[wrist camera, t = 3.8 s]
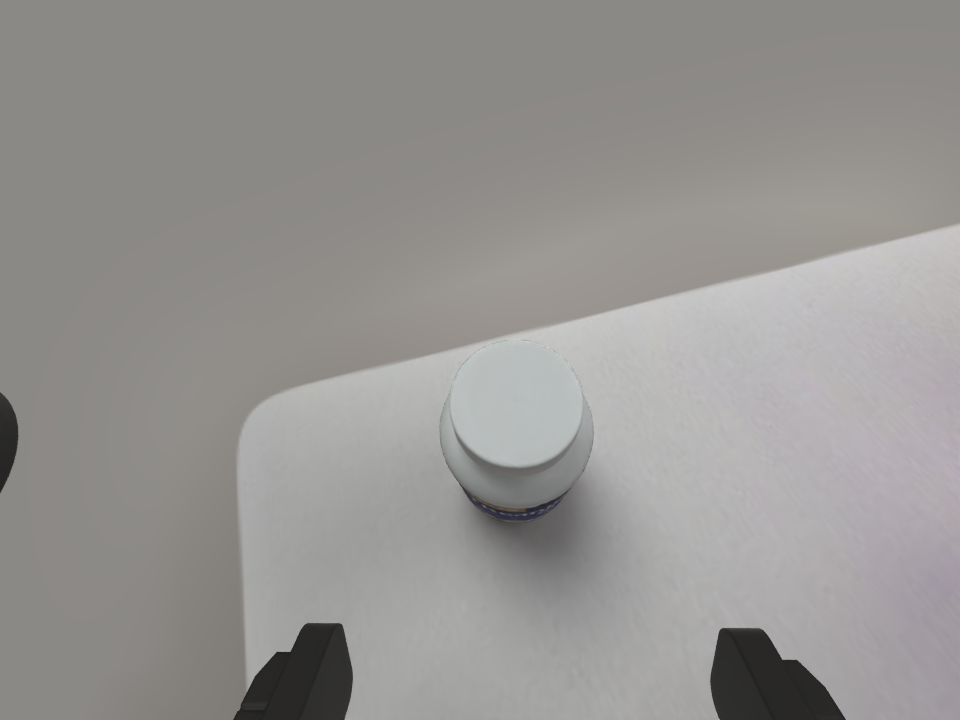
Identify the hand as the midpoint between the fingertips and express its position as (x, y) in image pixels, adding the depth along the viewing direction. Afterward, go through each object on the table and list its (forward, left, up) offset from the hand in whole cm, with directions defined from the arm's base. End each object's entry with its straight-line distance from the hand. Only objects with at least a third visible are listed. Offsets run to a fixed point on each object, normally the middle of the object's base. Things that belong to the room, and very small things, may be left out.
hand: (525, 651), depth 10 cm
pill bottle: (+1, +6, -11) cm, 13 cm away
